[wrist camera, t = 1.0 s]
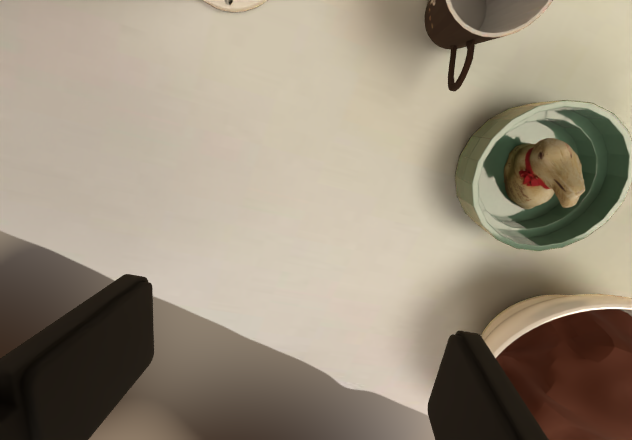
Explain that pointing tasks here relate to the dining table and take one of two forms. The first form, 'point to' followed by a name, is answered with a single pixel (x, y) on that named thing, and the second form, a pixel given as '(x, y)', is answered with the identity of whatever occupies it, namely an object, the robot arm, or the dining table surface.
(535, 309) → the cream round dish
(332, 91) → the dining table surface
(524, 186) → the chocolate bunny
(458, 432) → the robot arm
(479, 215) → the bowl
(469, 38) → the coffee mug
